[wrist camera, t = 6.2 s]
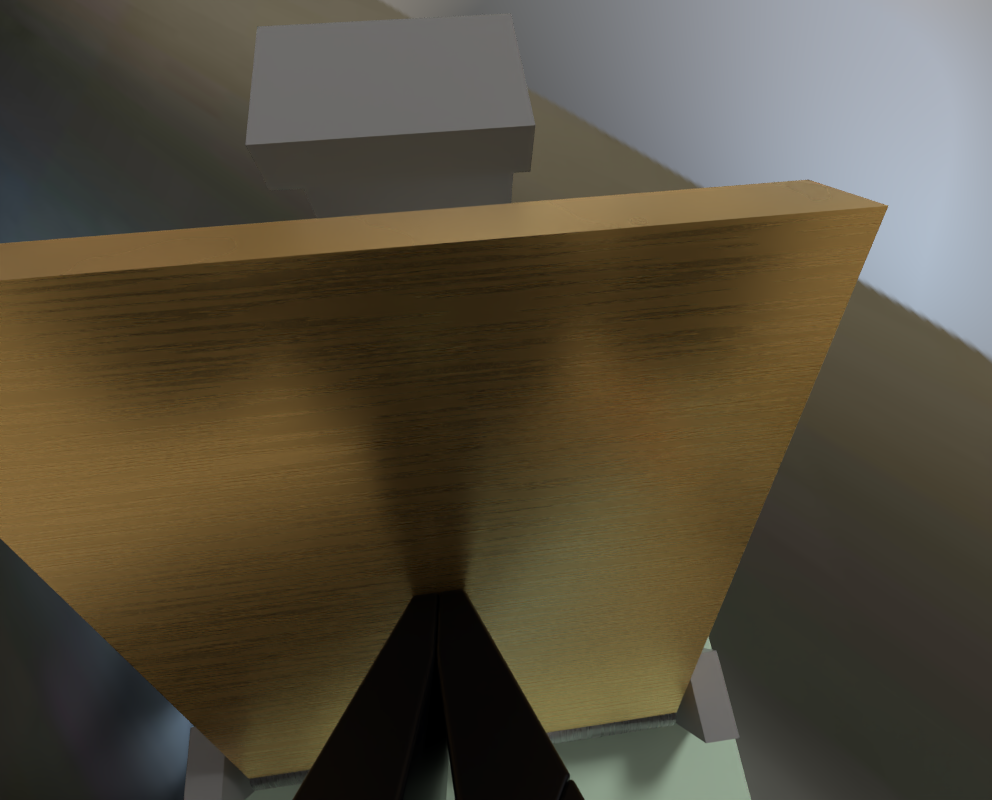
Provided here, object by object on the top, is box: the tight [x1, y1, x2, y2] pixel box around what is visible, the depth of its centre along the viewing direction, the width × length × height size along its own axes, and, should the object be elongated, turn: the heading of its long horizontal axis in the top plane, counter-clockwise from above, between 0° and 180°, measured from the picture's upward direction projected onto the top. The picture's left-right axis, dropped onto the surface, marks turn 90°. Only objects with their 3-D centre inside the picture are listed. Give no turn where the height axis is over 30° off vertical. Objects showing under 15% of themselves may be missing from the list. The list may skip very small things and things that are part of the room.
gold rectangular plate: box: [0, 180, 888, 791], centre depth 9 cm, size 1×10×13 cm
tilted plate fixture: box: [184, 13, 751, 800], centre depth 11 cm, size 20×14×10 cm
